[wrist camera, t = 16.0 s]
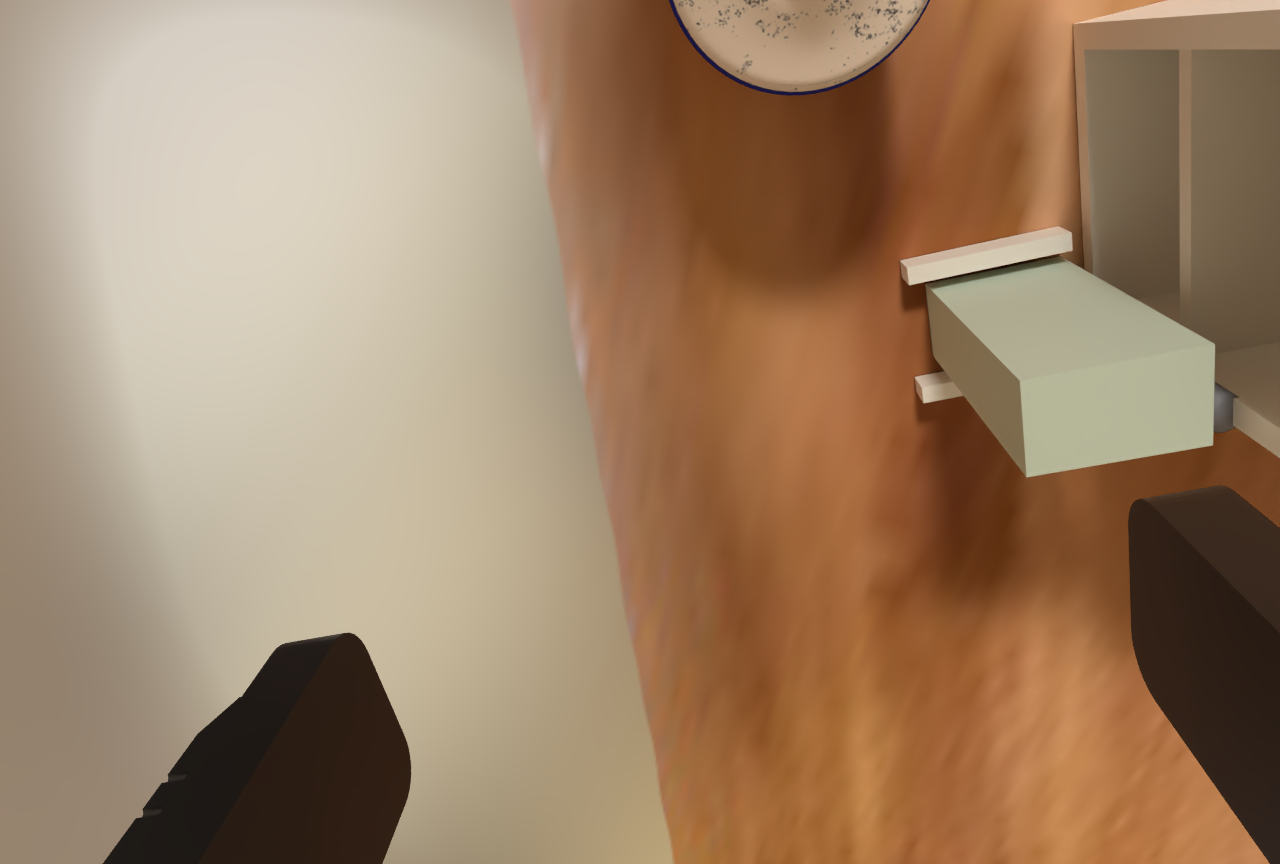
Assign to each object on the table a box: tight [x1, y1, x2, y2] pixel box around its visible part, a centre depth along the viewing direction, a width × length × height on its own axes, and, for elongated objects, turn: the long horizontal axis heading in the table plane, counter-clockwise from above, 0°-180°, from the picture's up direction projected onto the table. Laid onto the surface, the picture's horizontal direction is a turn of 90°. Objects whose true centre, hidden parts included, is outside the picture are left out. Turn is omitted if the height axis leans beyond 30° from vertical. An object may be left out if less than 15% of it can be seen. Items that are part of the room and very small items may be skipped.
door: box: [925, 256, 1215, 477], centre depth 35 cm, size 5×6×13 cm
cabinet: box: [900, 0, 1280, 458], centre depth 31 cm, size 15×18×16 cm
